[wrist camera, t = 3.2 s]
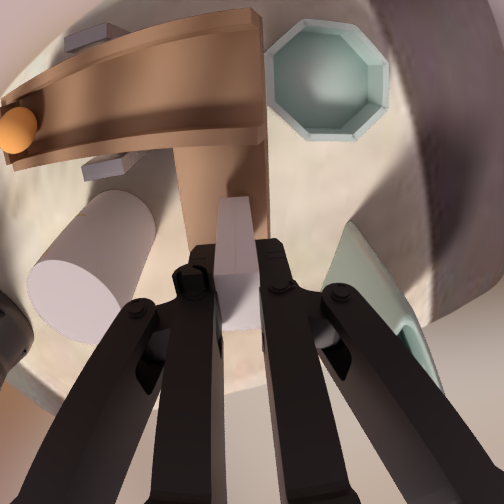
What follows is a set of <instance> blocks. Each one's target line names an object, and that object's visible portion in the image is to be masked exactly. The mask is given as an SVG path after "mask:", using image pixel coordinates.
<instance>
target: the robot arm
mask: <svg viewBox="0 0 504 504" xmlns="http://www.w3.org/2000/svg"><path fill="white" fill-rule="evenodd" d="M172 278H173V282H174V286H175V290H176V294H177V297H176V298H175V299H173V300H172V301H169V302H167V303H163V304H160V305H156V306H155V303H154V302H153V301H152V300H150V299H147V298H138V299H134V300H131V301H130V302H128V303H126V304H125V305H124V306H123V307H122V309H121V310H120V312H119V313H118V315H117V316H116V318H115V319H114V321H113V322H112V324H111V325H110V327H109V328H108V330H107V331H106V333H105V334H104V336H103V338H102V339H101V341H100V342H99V344H98V345H97V347H96V349H95V350H94V352H93V353H92V355H91V357H90V358H89V360H88V361H87V363H86V365H85V366H84V368H83V370H82V371H81V373H80V375H79V376H78V378H77V380H76V382H75V383H74V385H73V387H72V388H71V390H70V392H69V394H68V395H67V397H66V399H65V401H64V403H63V404H62V406H61V408H60V410H59V412H58V413H57V415H56V417H55V419H54V421H53V423H52V425H51V427H50V428H49V430H48V433H47V434H46V436H45V438H44V440H43V442H42V444H41V447H40V448H39V450H38V452H37V454H36V457H35V459H34V461H33V463H32V465H31V467H30V469H29V471H28V474H27V476H26V478H25V480H24V483H23V485H22V487H21V490H20V492H19V494H18V496H17V497H16V498H15V499H14V500H13V501H12V502H11V503H10V504H115V502H116V500H117V497H118V495H119V492H120V489H121V487H122V484H123V481H124V479H125V476H126V474H127V471H128V469H129V466H130V463H131V461H132V458H133V456H134V453H135V451H136V448H137V446H138V443H139V441H140V438H141V436H142V433H143V431H144V429H145V426H146V424H147V421H148V419H149V416H150V414H151V411H152V409H153V407H154V404H155V402H156V400H157V397H158V395H159V392H160V390H161V393H160V400H159V408H158V416H157V425H156V434H155V444H154V455H153V467H152V479H151V492H150V496H149V499H148V500H147V501H146V502H145V503H144V504H227V489H226V466H225V465H226V464H225V433H224V432H225V431H224V361H223V337H222V330H223V331H237V330H251V329H262V351H263V352H264V361H265V370H266V378H267V387H268V396H269V404H270V413H271V422H272V431H273V440H274V448H275V457H276V466H277V474H278V483H279V492H280V500H281V504H361V502H360V499H359V497H358V495H357V493H356V492H355V491H354V490H353V489H352V488H351V486H350V484H349V480H348V476H347V471H346V467H345V462H344V458H343V453H342V449H341V445H340V440H339V437H338V432H337V428H336V423H335V420H334V415H333V411H332V408H331V403H330V399H329V396H328V392H327V387H326V383H325V380H324V376H323V372H322V368H321V364H320V360H319V357H320V358H321V360H322V362H323V363H324V365H325V367H326V368H327V370H328V372H329V373H330V375H331V377H332V378H333V380H334V382H335V383H336V385H337V387H338V388H339V390H340V392H341V393H342V395H343V397H344V398H345V400H346V402H347V403H348V405H349V407H350V408H351V410H352V412H353V413H354V415H355V416H356V418H357V420H358V422H359V423H360V425H361V427H362V428H363V430H364V432H365V433H366V435H367V437H368V438H369V440H370V442H371V443H372V445H373V447H374V449H375V450H376V452H377V454H378V455H379V457H380V458H381V460H382V462H383V463H384V465H385V467H386V469H387V470H388V472H389V474H390V475H391V477H392V479H393V480H394V482H395V484H396V485H397V487H398V489H399V491H400V492H401V494H402V495H403V497H404V499H405V501H406V502H407V504H504V471H502V470H501V469H499V468H498V467H496V466H495V465H494V464H493V462H492V461H491V459H490V458H489V456H488V455H487V453H486V452H485V450H484V449H483V447H482V446H481V444H480V443H479V442H478V440H477V439H476V437H475V436H474V435H473V433H472V432H471V430H470V429H469V427H468V426H467V425H466V423H465V422H464V421H463V419H462V418H461V417H460V415H459V414H458V412H457V411H456V410H455V409H454V407H453V406H452V404H451V403H450V402H449V400H448V399H447V398H446V397H445V395H444V394H443V393H442V391H441V390H440V389H439V387H438V386H437V385H436V384H435V382H434V381H433V380H432V378H431V377H430V376H429V375H428V373H427V372H426V371H425V370H424V368H423V367H422V366H421V365H420V363H419V362H418V361H417V360H416V358H415V357H414V356H413V355H412V354H411V352H410V351H409V350H408V349H407V347H406V346H405V345H404V344H403V343H402V341H401V340H400V339H399V338H398V337H397V335H396V334H395V333H394V332H393V331H392V330H391V328H390V327H389V326H388V325H387V324H386V322H385V321H384V320H383V319H382V318H381V317H380V315H379V314H378V313H377V312H376V311H375V310H374V309H373V307H372V306H371V305H370V304H369V303H368V302H367V301H366V299H365V298H364V297H363V296H362V295H361V294H360V293H359V292H358V290H357V289H355V288H354V287H353V286H351V285H348V284H346V283H331V284H329V285H327V286H325V288H324V289H323V290H322V292H315V291H309V290H305V289H303V288H301V287H299V285H298V284H297V282H296V281H295V280H293V278H292V275H291V271H290V268H289V264H288V261H287V258H286V254H285V250H284V247H283V244H282V243H281V242H280V241H279V240H278V239H277V238H271V239H257V240H255V238H254V231H253V224H252V217H251V210H250V203H249V196H242V197H229V198H220V200H219V211H218V222H217V234H216V243H215V244H203V245H196V246H195V247H194V248H193V249H192V251H191V252H190V257H189V262H188V264H185V265H183V266H181V267H179V268H178V269H176V270H175V271H174V273H173V275H172ZM33 341H34V337H33V332H32V329H31V327H30V325H29V323H28V321H27V320H26V318H25V317H24V315H23V314H22V312H21V311H20V310H19V309H18V308H17V306H16V305H15V304H14V303H13V302H12V301H11V300H10V299H9V298H8V297H7V296H5V295H4V294H3V293H2V292H0V390H1V387H2V385H3V382H4V380H5V378H6V376H7V374H8V372H9V371H10V370H11V369H12V368H13V367H14V366H15V365H16V364H17V363H18V362H19V361H20V360H21V359H22V358H23V357H24V356H26V355H27V353H28V352H29V350H30V348H31V346H32V344H33ZM318 355H319V357H318Z"/></svg>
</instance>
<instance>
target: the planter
mask: <svg viewBox="0 0 504 504" xmlns="http://www.w3.org/2000/svg"><path fill="white" fill-rule="evenodd" d="M331 283H346V284H348V285H351V286H353V287H354V288H355V289H357V290H358V292H359V293H360V294H361V295H362V296H363V297H364V298H365V299H366V301H367V302H368V303H369V304H370V305H371V306H372V307H373V309H374V310H375V311H376V312H377V313H378V314H379V315H380V317H381V318H382V319H383V320H384V321H385V322H386V324H387V325H388V326H389V327H390V328H391V330H392V331H393V332H394V333H395V334H396V335H397V337H398V338H399V339H400V340H401V341H402V343H403V344H404V345H405V346H406V347H407V349H408V350H409V351H410V352H411V354H412V355H413V356H414V357H415V358H416V360H417V361H418V362H419V363H420V365H421V366H422V367H423V368H424V370H425V371H426V372H427V373H428V375H429V376H430V377H431V378H432V380H433V381H434V382H435V384H436V385H437V386H438V387H439V389H440V390H441V391H442V393H443V394H444V395H445V393H444V390H443V387H442V384H441V381H440V378H439V375H438V372H437V369H436V366H435V363H434V360H433V358H432V355H431V352H430V349H429V347H428V344H427V342H426V339H425V337H424V334H423V332H422V329H421V327H420V324H419V322H418V319H417V317H416V315H415V313H414V311H413V309H412V307H411V306H410V304H409V302H408V301H407V299H406V298H405V296H404V294H403V293H402V291H401V290H400V288H399V287H398V285H397V284H396V282H395V281H394V279H393V278H392V276H391V275H390V273H389V272H388V270H387V269H386V268H385V266H384V265H383V263H382V262H381V260H380V259H379V258H378V256H377V255H376V253H375V252H374V250H373V249H372V248H371V246H370V245H369V244H368V242H367V241H366V240H365V238H364V237H363V235H362V234H361V233H360V231H359V230H358V229H357V227H356V226H355V225H354V223H353V222H351V221H349V222H348V223H347V224H346V226H345V228H344V231H343V234H342V237H341V240H340V242H339V245H338V248H337V251H336V253H335V256H334V258H333V261H332V264H331V266H330V269H329V271H328V274H327V276H326V279H325V281H324V284H323V286H322V289H321V292H322V290H323V289H324V288H325V286H327V285H329V284H331ZM445 397H446V396H445Z"/></svg>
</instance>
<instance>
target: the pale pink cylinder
mask: <svg viewBox="0 0 504 504" xmlns="http://www.w3.org/2000/svg"><path fill="white" fill-rule="evenodd" d="M155 235H156V226H155V221H154V218H153V216H152V214H151V212H150V210H149V209H148V207H147V206H146V205H145V204H144V203H143V202H142V201H141V200H140V199H139V198H137V197H136V196H134V195H132V194H130V193H128V192H125V191H120V190H109V191H105V192H102V193H100V194H98V195H97V196H95V197H94V198H93V199H92V200H91V201H90V202H89V203H88V204H87V205H86V206H85V207H84V208H83V209H82V210H81V211H80V212H79V214H78V215H77V216H76V217H75V218H74V219H73V220H72V221H71V222H70V223H69V224H68V226H67V227H66V228H65V229H64V230H63V231H62V232H61V234H60V235H59V236H58V237H57V238H56V239H55V241H54V242H53V243H52V244H51V245H50V247H49V248H48V249H47V250H46V251H45V253H44V254H43V255H42V256H41V258H40V259H39V260H38V261H37V263H36V264H35V265H34V267H33V268H32V269H31V271H30V272H29V275H28V278H27V291H28V295H29V298H30V301H31V303H32V305H33V307H34V309H35V310H36V312H37V313H38V314H39V316H40V317H41V318H42V319H43V320H44V321H45V322H46V323H47V324H48V325H49V326H50V327H51V328H52V329H54V330H55V331H56V332H58V333H59V334H61V335H63V336H65V337H67V338H69V339H71V340H73V341H76V342H79V343H83V344H90V345H98V344H99V342H100V341H101V339H102V338H103V336H104V334H105V333H106V331H107V330H108V328H109V327H110V325H111V324H112V322H113V321H114V319H115V318H116V316H117V315H118V313H119V312H120V310H121V309H122V307H123V306H124V305H125V304H126V303H128V302H130V301H131V300H132V298H133V295H134V292H135V289H136V286H137V284H138V281H139V278H140V276H141V273H142V270H143V268H144V265H145V263H146V260H147V257H148V255H149V252H150V250H151V247H152V245H153V242H154V240H155Z"/></svg>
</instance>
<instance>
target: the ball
mask: <svg viewBox="0 0 504 504" xmlns="http://www.w3.org/2000/svg"><path fill="white" fill-rule="evenodd" d="M36 133H37V120H36V117H35V115H34V113H33V112H32V111H31V110H29V109H28V108H25V107H16V108H13V109H11V110H9V111H8V112H6V113H5V114H4V115H3V116H2V118H1V119H0V148H1V149H2V150H3V151H5V152H7V153H11V154H16V153H20V152H22V151H24V150H25V149H26V148H28V147H29V146H30V145H31V143H32V142H33V140H34V138H35V136H36Z"/></svg>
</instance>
